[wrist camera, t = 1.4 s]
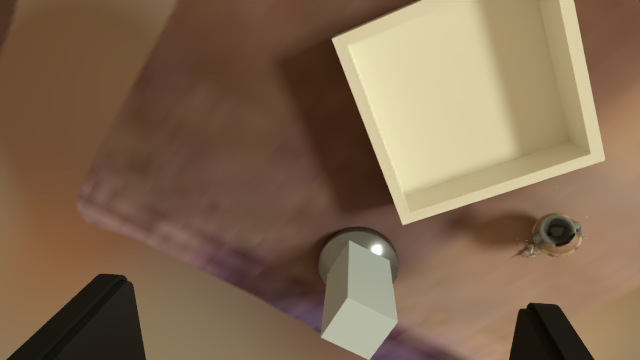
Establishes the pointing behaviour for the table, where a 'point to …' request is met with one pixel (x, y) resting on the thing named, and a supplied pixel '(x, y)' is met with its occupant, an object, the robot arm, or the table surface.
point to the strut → (359, 301)
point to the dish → (471, 98)
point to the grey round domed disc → (361, 237)
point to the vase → (555, 236)
